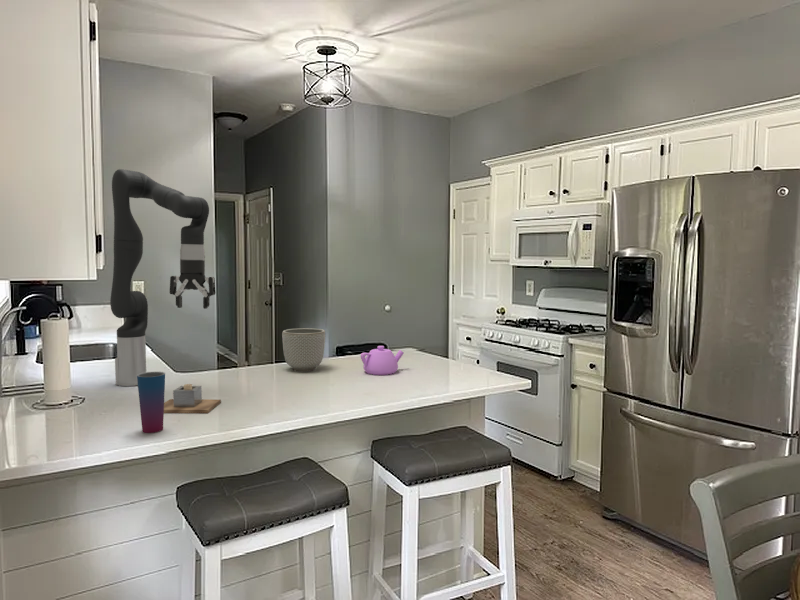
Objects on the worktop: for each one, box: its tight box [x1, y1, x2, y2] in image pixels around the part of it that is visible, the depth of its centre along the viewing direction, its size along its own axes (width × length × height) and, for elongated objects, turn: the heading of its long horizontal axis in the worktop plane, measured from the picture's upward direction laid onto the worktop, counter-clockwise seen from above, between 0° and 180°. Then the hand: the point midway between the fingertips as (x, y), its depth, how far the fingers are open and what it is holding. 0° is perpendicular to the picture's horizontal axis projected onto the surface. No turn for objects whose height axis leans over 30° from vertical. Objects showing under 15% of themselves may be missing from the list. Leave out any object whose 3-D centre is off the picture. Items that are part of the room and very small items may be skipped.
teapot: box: [360, 345, 404, 376], centre depth 224 cm, size 14×20×11 cm
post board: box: [164, 383, 222, 414], centre depth 169 cm, size 16×12×7 cm
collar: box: [172, 385, 203, 407], centre depth 169 cm, size 6×6×5 cm
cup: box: [137, 371, 166, 434], centre depth 147 cm, size 7×7×15 cm
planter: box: [281, 327, 326, 373], centre depth 227 cm, size 17×17×16 cm
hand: (192, 308), depth 183 cm, fingers open, 8 cm apart
